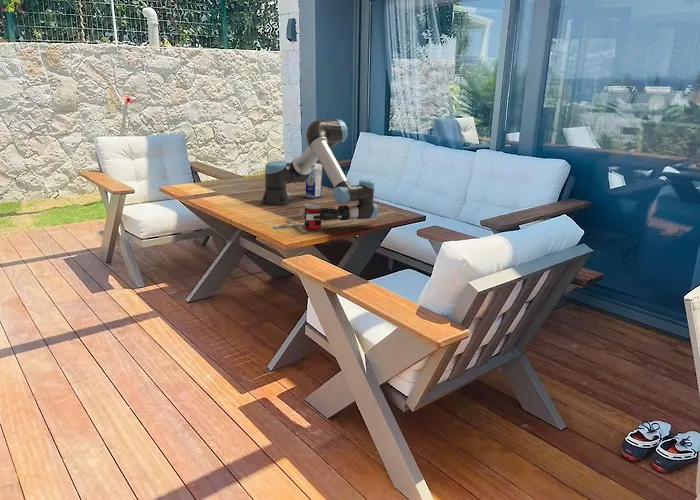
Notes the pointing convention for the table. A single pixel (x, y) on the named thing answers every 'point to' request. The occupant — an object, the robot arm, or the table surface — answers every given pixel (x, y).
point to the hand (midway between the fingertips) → (303, 215)
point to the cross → (297, 226)
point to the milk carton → (314, 182)
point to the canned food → (312, 210)
